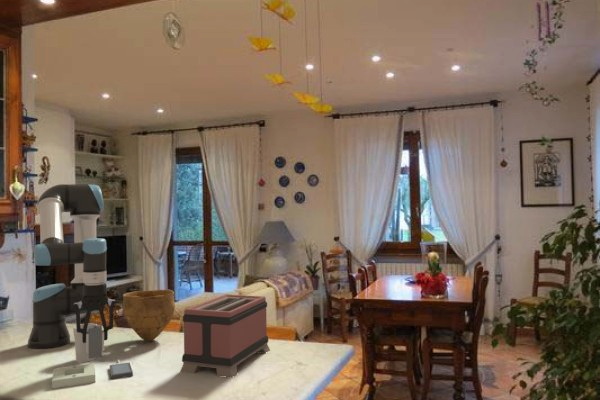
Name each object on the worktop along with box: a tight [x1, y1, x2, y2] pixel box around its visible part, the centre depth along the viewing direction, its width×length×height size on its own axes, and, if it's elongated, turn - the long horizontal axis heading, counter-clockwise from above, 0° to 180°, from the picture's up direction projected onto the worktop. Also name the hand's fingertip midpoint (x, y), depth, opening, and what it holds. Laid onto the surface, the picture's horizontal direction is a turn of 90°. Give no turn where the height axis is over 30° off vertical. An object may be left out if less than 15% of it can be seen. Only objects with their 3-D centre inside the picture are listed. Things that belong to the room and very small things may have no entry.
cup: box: [72, 322, 98, 363], centre depth 175 cm, size 8×8×12 cm
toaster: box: [179, 293, 271, 379], centre depth 173 cm, size 19×34×21 cm, turn 160°
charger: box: [88, 324, 103, 359], centre depth 167 cm, size 4×4×10 cm
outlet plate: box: [51, 362, 96, 389], centre depth 155 cm, size 12×12×3 cm
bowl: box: [122, 289, 176, 342], centre depth 198 cm, size 21×20×20 cm
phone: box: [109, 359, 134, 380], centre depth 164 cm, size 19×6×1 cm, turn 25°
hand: (95, 350), depth 168 cm, fingers closed on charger, 4 cm apart
